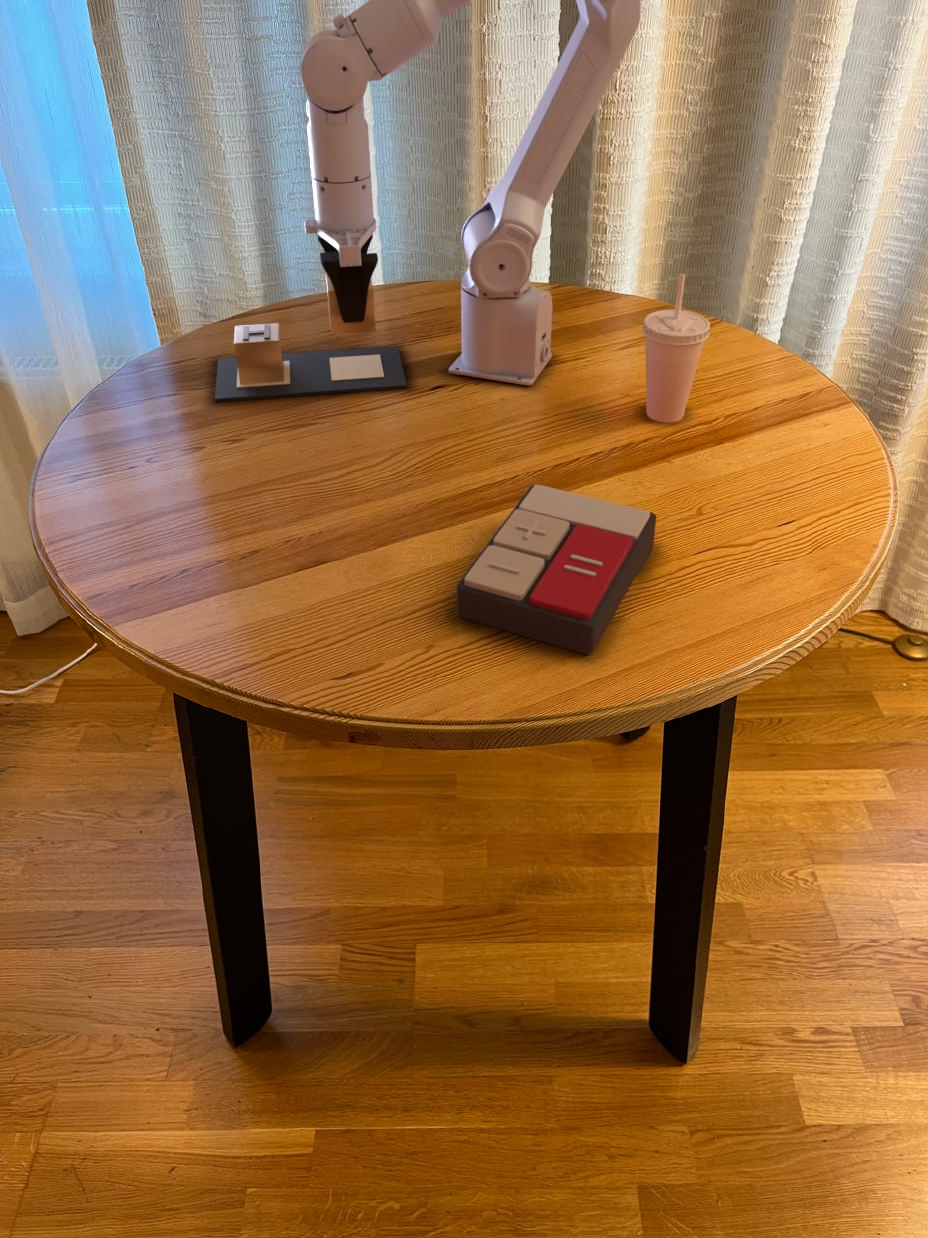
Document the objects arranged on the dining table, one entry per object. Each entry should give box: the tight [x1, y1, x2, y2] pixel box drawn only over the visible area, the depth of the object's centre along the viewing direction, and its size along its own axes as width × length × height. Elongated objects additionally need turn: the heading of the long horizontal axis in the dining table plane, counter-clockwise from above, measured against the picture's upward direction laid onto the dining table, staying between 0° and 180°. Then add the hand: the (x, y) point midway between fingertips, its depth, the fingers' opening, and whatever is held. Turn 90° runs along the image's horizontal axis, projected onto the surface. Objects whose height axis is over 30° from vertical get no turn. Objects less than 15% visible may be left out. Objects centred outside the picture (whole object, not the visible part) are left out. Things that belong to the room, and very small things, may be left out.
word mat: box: [214, 345, 408, 403], centre depth 111 cm, size 20×10×1 cm, turn 98°
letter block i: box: [325, 274, 377, 335], centre depth 106 cm, size 5×5×5 cm
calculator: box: [456, 484, 657, 656], centre depth 80 cm, size 11×4×15 cm
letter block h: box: [233, 322, 284, 384], centre depth 108 cm, size 5×5×5 cm
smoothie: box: [641, 273, 711, 424], centre depth 99 cm, size 6×6×14 cm
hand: (351, 311), depth 107 cm, fingers closed on letter block i, 4 cm apart
